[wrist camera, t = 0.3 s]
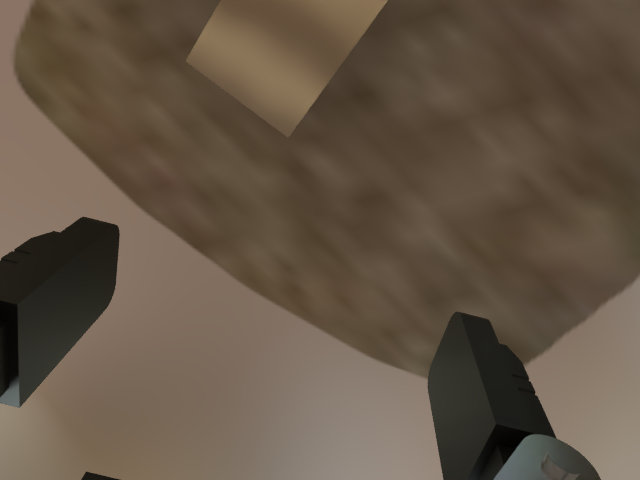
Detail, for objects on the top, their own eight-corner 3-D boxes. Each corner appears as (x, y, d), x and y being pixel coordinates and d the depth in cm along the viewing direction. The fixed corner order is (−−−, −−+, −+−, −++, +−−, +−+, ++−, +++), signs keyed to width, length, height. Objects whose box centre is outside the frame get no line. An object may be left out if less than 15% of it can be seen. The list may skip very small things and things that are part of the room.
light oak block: (305, -107, 32) (294, -127, 27) (401, -23, 33) (407, -28, 29) (210, 53, 37) (185, 60, 32) (298, 120, 38) (288, 137, 33)
